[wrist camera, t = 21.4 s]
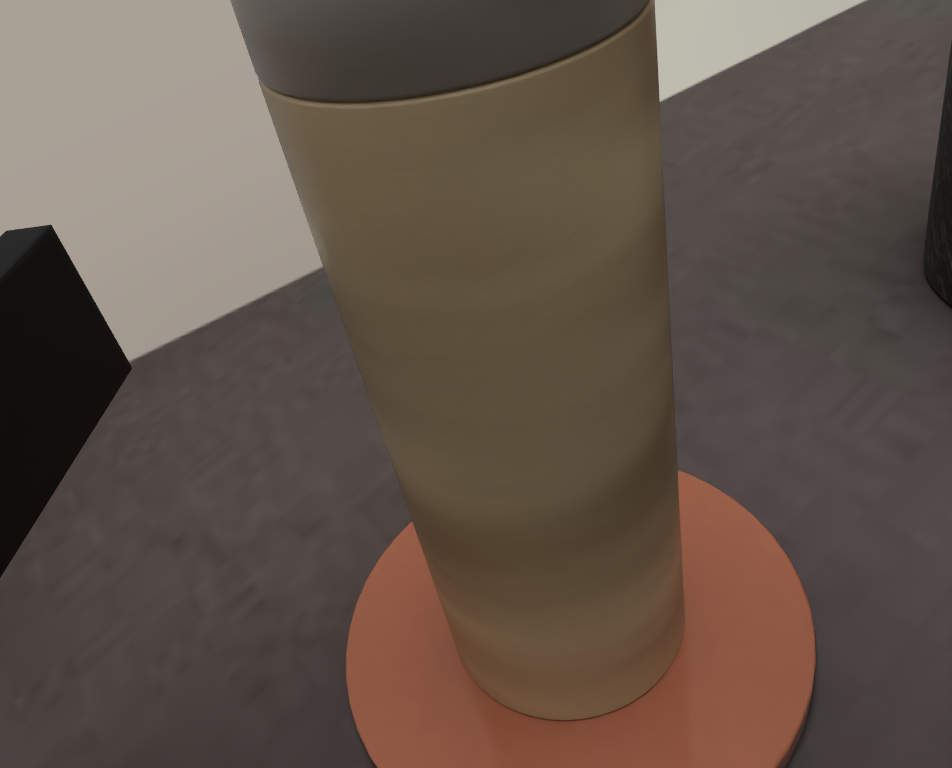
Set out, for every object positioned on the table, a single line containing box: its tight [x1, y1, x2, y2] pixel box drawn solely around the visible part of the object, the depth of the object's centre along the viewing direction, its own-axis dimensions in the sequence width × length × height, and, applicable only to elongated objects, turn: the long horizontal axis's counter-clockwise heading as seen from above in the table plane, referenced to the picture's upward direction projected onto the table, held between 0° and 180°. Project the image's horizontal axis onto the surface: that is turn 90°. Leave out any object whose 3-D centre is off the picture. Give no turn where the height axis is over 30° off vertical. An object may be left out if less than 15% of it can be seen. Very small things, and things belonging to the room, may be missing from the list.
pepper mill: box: [230, 0, 685, 720], centre depth 14 cm, size 14×5×14 cm
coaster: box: [346, 470, 816, 768], centre depth 18 cm, size 10×10×1 cm
